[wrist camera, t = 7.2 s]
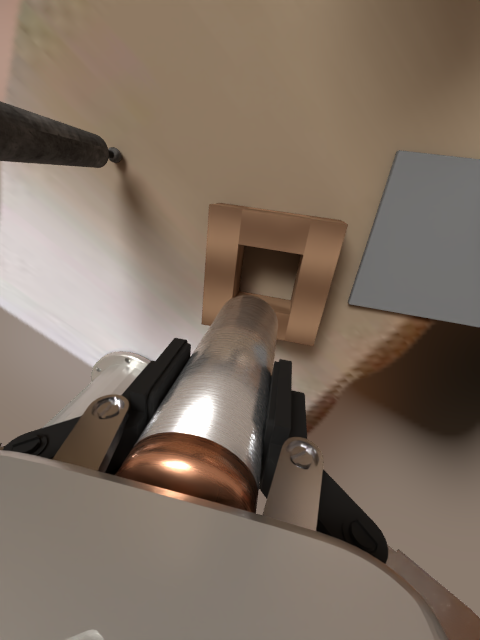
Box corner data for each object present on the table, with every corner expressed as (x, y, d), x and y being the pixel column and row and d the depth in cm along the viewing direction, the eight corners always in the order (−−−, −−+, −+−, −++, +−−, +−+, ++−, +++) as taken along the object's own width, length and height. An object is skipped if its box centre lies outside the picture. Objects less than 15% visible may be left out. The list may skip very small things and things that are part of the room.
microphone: (161, 178, 27) (-88, 152, 10) (108, 203, 29) (-176, 219, 12) (129, 100, 25) (-281, -126, 7) (74, 133, 27) (-347, 20, 9)
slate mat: (487, 326, 28) (491, 329, 27) (347, 302, 29) (348, 304, 29) (580, 172, 21) (587, 171, 21) (396, 151, 23) (399, 150, 22)
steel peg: (283, 301, 17) (265, 491, 6) (272, 354, 18) (243, 576, 8) (221, 290, 17) (100, 448, 6) (215, 343, 19) (114, 538, 8)
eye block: (311, 328, 31) (313, 346, 28) (211, 309, 33) (201, 324, 29) (340, 220, 26) (347, 224, 22) (220, 203, 27) (209, 204, 24)
